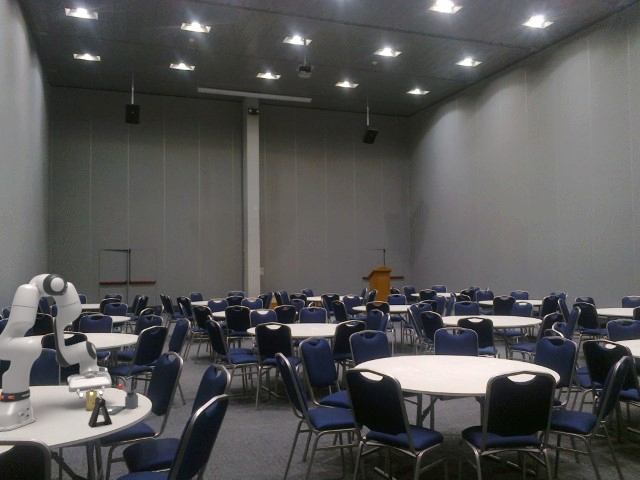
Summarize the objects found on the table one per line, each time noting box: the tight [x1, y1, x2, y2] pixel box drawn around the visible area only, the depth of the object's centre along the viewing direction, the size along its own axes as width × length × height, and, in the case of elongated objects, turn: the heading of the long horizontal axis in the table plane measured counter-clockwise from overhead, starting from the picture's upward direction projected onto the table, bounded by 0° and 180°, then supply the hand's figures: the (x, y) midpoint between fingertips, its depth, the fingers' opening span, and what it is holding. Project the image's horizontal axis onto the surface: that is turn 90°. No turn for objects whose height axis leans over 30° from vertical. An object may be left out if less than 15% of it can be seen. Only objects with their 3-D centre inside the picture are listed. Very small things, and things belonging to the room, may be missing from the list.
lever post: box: [124, 388, 139, 410], centre depth 283 cm, size 4×5×9 cm
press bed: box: [98, 405, 126, 416], centre depth 275 cm, size 12×10×1 cm
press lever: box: [117, 383, 134, 395], centre depth 276 cm, size 17×3×3 cm, turn 176°
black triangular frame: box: [88, 396, 113, 429], centre depth 254 cm, size 9×6×12 cm, turn 125°
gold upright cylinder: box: [85, 388, 98, 412], centre depth 279 cm, size 5×5×10 cm
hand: (91, 396), depth 280 cm, fingers open, 8 cm apart
